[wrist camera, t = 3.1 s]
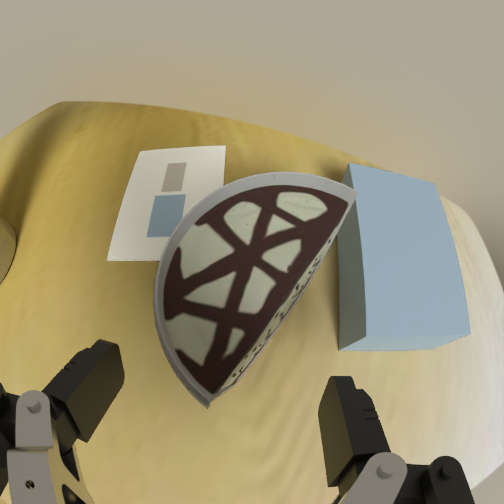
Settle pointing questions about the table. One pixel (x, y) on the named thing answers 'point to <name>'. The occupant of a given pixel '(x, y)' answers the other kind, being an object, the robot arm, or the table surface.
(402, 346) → the base brick
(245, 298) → the food container
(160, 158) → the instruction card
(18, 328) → the table surface
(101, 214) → the table surface
